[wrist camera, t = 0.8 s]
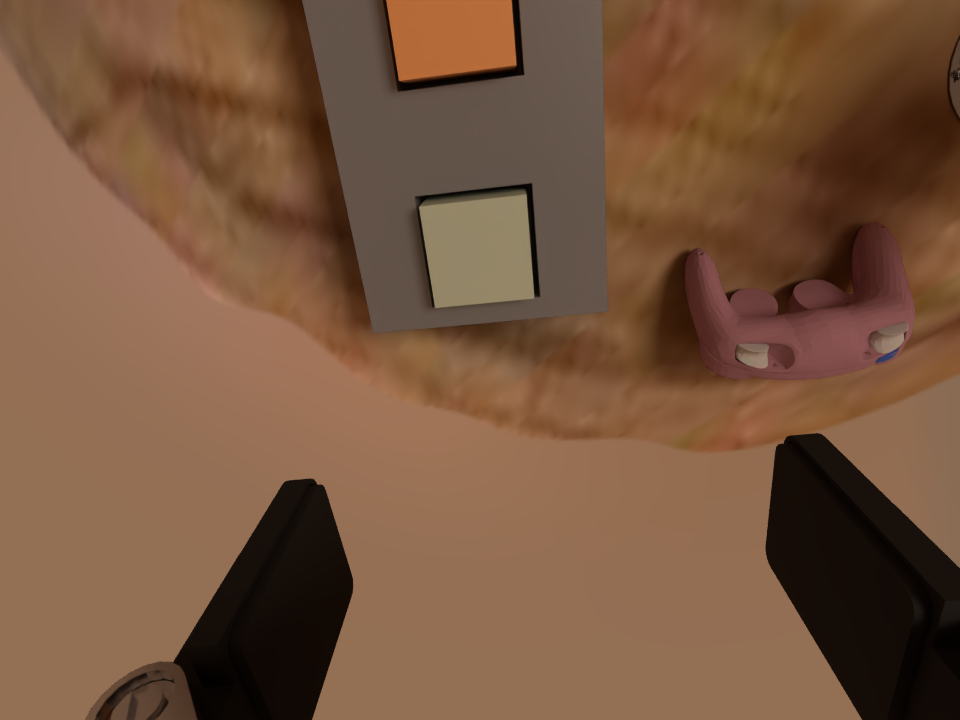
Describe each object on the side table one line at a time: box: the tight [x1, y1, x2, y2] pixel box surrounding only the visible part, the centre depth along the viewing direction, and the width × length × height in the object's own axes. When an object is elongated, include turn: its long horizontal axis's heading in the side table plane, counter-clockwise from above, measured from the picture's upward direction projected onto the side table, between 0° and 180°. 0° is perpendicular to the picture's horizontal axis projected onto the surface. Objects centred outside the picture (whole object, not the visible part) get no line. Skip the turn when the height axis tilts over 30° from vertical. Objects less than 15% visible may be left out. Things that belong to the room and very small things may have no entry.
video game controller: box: [685, 222, 915, 380], centre depth 26 cm, size 10×5×7 cm, turn 99°
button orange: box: [386, 0, 516, 85], centre depth 20 cm, size 4×4×3 cm
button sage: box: [419, 185, 534, 308], centre depth 24 cm, size 4×4×3 cm
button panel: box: [302, 0, 607, 333], centre depth 22 cm, size 25×11×4 cm, turn 7°
